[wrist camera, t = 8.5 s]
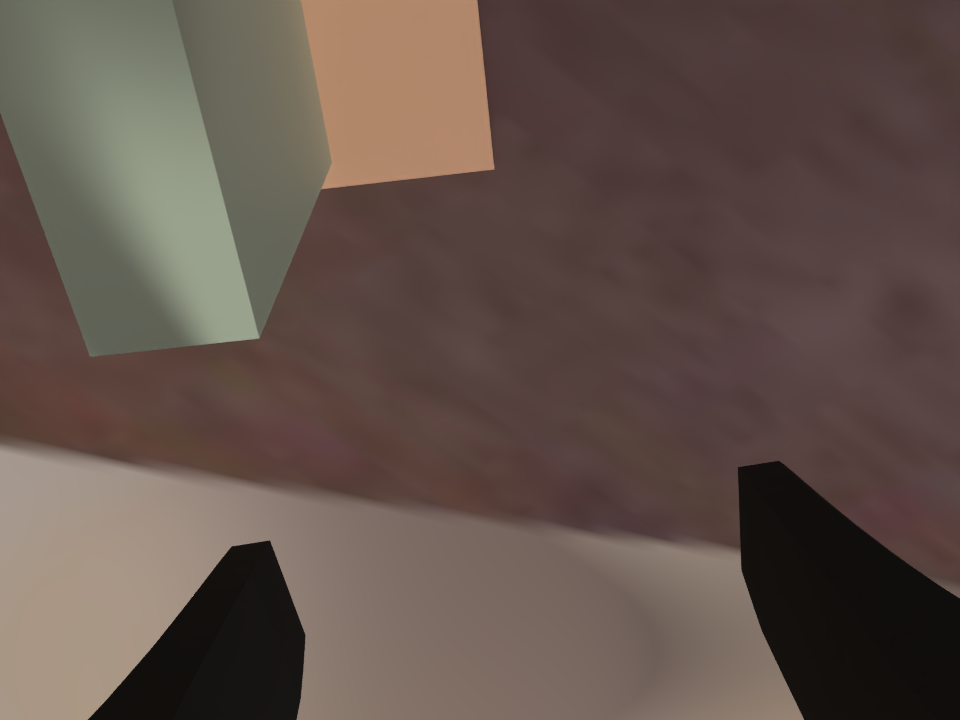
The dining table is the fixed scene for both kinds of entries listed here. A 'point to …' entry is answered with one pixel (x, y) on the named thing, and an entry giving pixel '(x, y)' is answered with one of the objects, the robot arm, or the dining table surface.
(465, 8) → the mat
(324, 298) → the dining table surface
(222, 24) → the sage green tall pillar
